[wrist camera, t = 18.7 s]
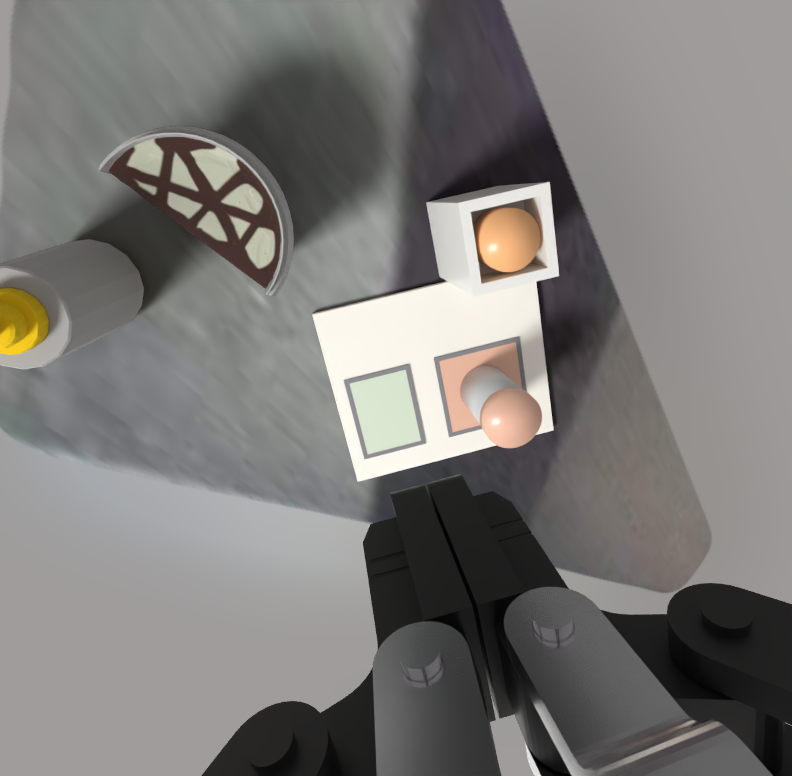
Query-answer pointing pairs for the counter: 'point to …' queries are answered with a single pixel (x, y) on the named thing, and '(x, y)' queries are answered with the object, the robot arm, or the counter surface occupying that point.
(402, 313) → the picture board
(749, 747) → the robot arm
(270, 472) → the counter surface
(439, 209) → the white open box
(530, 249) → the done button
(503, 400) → the peach-capped grey cylinder
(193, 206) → the food container
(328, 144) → the counter surface
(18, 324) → the soap bottle
